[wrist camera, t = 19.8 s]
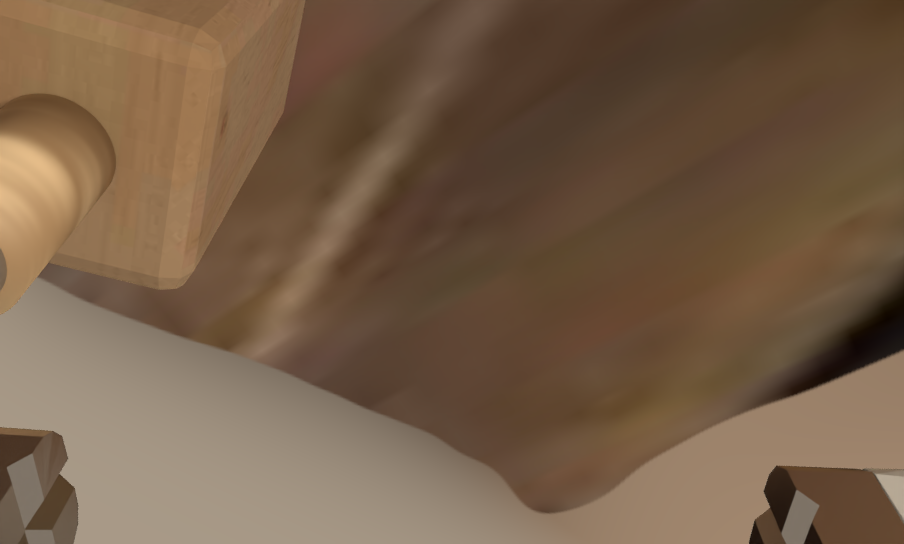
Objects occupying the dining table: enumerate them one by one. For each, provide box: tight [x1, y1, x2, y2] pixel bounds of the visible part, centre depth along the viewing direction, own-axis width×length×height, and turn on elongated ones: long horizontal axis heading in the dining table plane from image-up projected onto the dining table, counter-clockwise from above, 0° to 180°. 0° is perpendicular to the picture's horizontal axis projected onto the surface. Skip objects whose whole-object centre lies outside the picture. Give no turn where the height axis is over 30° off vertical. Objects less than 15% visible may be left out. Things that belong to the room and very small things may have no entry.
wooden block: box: [0, 0, 306, 290], centre depth 37 cm, size 10×10×20 cm
